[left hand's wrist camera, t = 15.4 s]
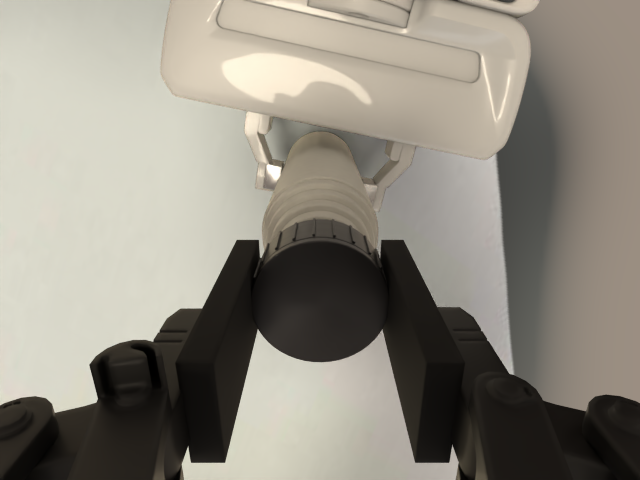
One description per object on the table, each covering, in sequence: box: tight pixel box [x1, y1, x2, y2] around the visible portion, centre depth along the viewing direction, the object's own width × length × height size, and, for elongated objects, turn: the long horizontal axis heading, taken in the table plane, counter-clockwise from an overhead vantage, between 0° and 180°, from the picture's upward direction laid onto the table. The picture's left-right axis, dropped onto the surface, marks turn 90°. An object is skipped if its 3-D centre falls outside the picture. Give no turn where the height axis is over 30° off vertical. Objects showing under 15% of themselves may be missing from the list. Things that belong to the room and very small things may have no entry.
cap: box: [251, 218, 389, 362], centre depth 14 cm, size 4×4×2 cm
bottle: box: [262, 131, 378, 250], centre depth 23 cm, size 5×5×21 cm
